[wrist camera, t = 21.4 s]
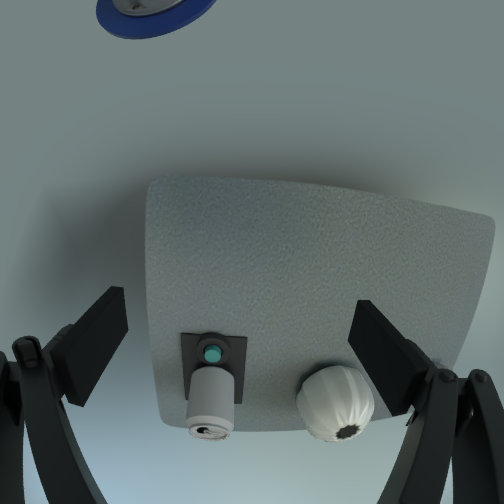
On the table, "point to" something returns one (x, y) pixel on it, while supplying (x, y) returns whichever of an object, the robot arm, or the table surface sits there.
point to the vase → (335, 404)
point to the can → (211, 404)
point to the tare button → (212, 353)
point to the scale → (229, 361)
